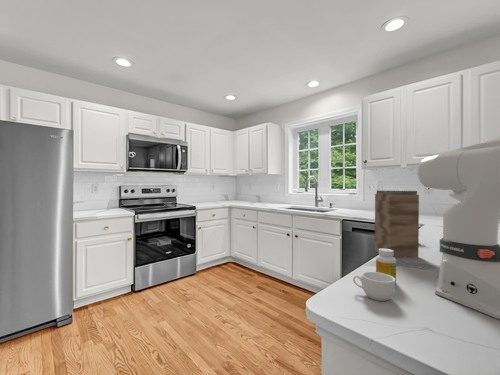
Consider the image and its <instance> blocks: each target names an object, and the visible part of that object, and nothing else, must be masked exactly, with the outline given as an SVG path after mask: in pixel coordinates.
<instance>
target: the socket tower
mask: <svg viewBox="0 0 500 375" xmlns="http://www.w3.org/2000/svg"><path fill="white" fill-rule="evenodd" d="M374 197H375V198H374V253H375V252H376V253H377V254H379V249H381V248H384V249H391V250H393V251H394V256H393V257H394V258H418V257H419V242H420V241H419V235H420V233H419V232H420V231H419V229H420V228H419V227H420V226H419V222H420V221H419V218H420V216H419V215H420V204H419V203H420V195H419V194H418V191H417V190H376V193H375V194H374Z"/></svg>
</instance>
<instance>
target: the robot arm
mask: <svg viewBox="0 0 500 375" xmlns="http://www.w3.org/2000/svg"><path fill="white" fill-rule="evenodd" d="M416 172H417V178H418V180H419V182H420V183H421V184H422V186H424V187H425V188H429V189H435V190H440V191H441V190H442V191H449V193H448V195H449V196H450V197H451V198H453V199H455V200H457V201H458V203H456V204H453V205H451V206H449V207H448V208H446V210H444V212H443V215H442V217H443V218H442V220H443V222H442V238H441V251H442V252H443V253H442V252H441V253H442V255H441V260H440V261H441V262H440V268H439V271H438V272H439V273H438V279H437V281H436V284H435V292H434V293H435V294H436V295H438V296H440V297H443V298H445V299H448V300H450V301H453V302H456V303H458V304H460V305H463V306H465V307H468V308H470V309H472V310H473V309H474V310H475V311H478V312H481V313H483V314H485V315H487V316H491V317H493V318H496V319H498V320H500V244H499V243H498V241H499V240H498V239H499V238H498V233H499V225H500V136H498V137H495V138H493V139H489V140H487V141H484V142H480V143H476V144H472V145H467V146H464V147H459V148H455V149H452V150H449V151H445V152H440V153H437V154H434V155H431V156H427V157H425V158H423V159H422V160H420V163H419V164H418V166H417V171H416Z"/></svg>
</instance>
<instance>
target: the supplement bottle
mask: <svg viewBox="0 0 500 375" xmlns="http://www.w3.org/2000/svg"><path fill="white" fill-rule="evenodd" d="M393 256H394V251H393V250H391V249H384V248H381V249H379V253H378V255H377V256H376V258H375V259H376V260H375V272H379V273H384V274H387V275H390V276H392V277H394V278H395V285H396V284H397V259H396V257H393Z"/></svg>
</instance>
